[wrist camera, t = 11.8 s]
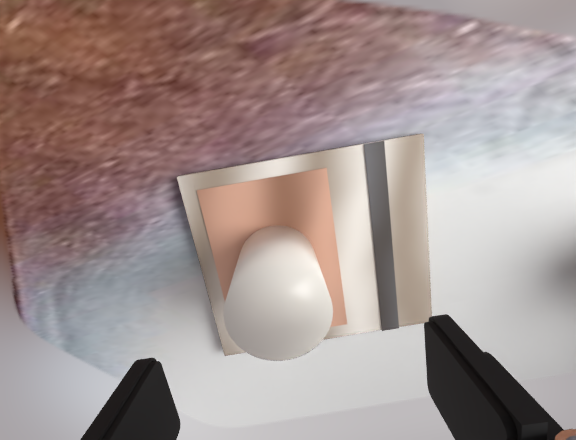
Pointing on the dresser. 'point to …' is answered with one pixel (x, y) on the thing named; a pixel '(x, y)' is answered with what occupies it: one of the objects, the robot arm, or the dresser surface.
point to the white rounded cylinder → (277, 296)
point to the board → (325, 228)
